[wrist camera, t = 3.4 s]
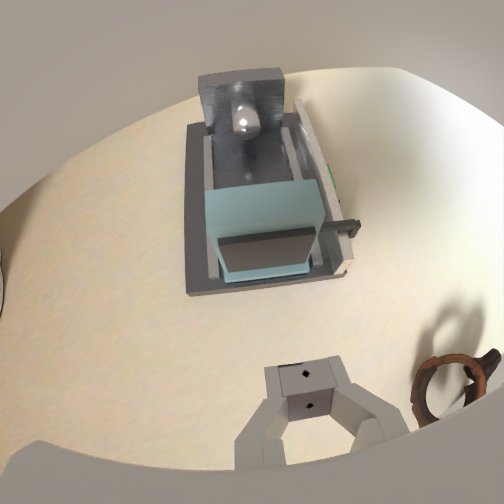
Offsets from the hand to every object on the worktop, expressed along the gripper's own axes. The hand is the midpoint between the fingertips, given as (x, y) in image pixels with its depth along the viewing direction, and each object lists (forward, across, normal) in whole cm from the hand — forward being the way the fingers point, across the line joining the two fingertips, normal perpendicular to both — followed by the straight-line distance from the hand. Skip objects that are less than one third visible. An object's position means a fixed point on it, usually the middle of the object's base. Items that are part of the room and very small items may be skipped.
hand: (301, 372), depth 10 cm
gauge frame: (+25, 0, -3) cm, 25 cm away
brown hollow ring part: (+6, -18, +17) cm, 25 cm away
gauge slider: (+18, -2, +2) cm, 18 cm away
